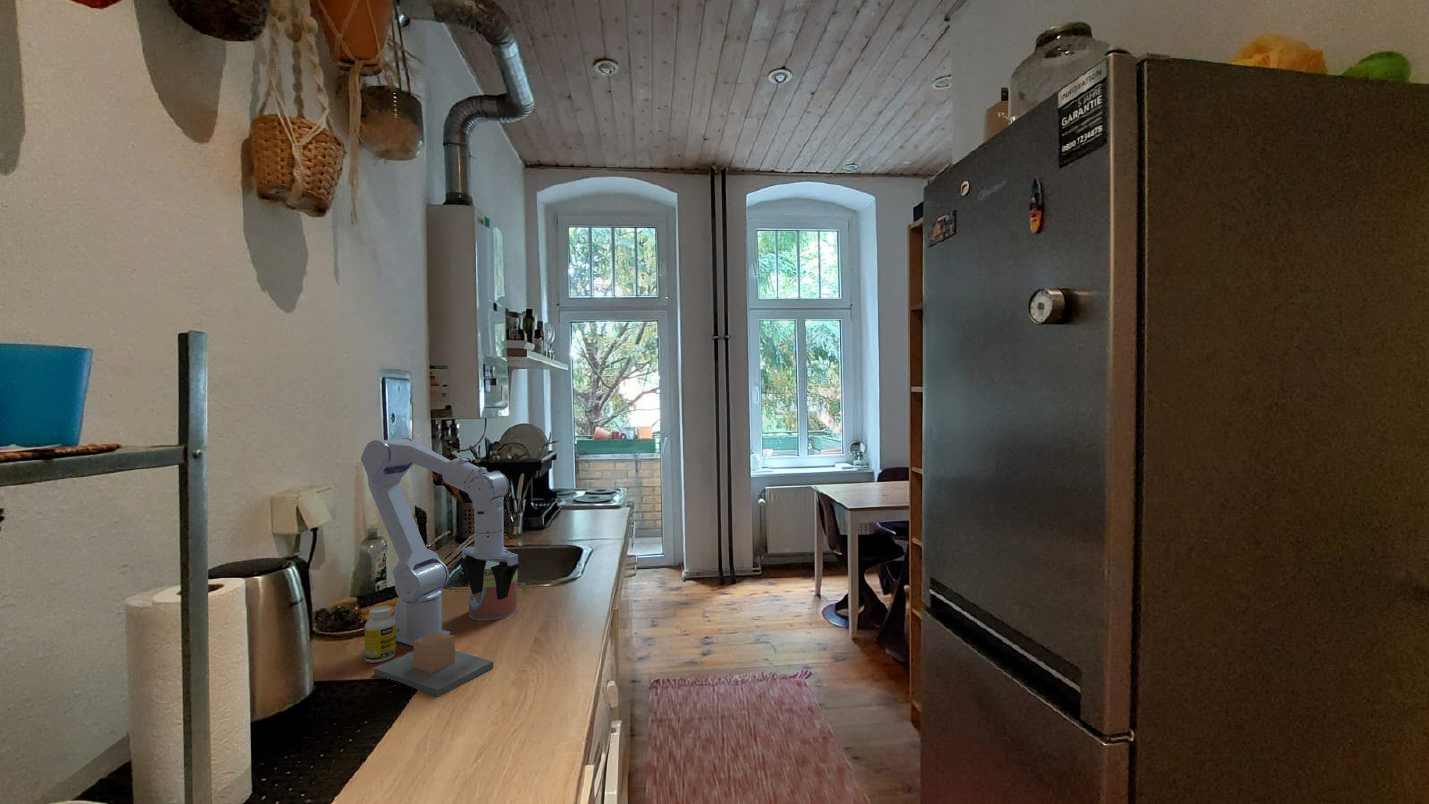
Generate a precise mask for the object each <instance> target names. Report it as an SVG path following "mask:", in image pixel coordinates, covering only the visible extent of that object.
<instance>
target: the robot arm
mask: <svg viewBox="0 0 1429 804" xmlns="http://www.w3.org/2000/svg"><path fill="white" fill-rule="evenodd" d="M360 461H361V463H362V466H363V467H364V470H365V473H366V475H367V482H368V483H367V484H368V488H369V491H370V493H371V495H372V498H373V500H374V502H375V505H376V507H377V510H378V512H379V514H380V517H381V520H382V522H383V524H384V526H385V528H386V531H387V534H388V536H389V538H390V541H391V543H392V545H393V548H394V550H395V553H396V555H397V558H398V561H397V563H396V565H395V566H394V568H393V570H392V575H393V578H394V588H395V592H396V594H397V596H398V598H399V599H398V600H397V601H396V603H395V606H394V611H393V612H394V614H393V617H394V618H395V619H396V642H398V643H402V644H405V645H408V646H412V647H414V641H415V640H417V639H420V638H422V637H425V636H427V635H430V634H432V633H435V632H437V631H438V632H442V633H445V634H449V635H452V634H451V633H452V632H451V631H449V630H446V629H443V628H442V627H443V625H442V621H443V620H442V614H443V613H442V593H443V592H444V587H445V586H446V585H447V584H448V581H449V579H450V572H449V568H448V567H447V565H446V564H445V563H444V562H443V561H442V560H441V559H440V557H439V554H438V553H437V552H435V551H433V550H431V549H429V548H427V547H426V545H425V542H424V540H423V538H422V535H421V534H420V530H419V528H418V526H417V523H416V521H415V519H414V516H413V514H412V511H411V510H410V507H409V505H408V502H407V500H406V498H405V495H404V493H403V490H402V488H401V486H400V482H401V480H402V478H403V477H404V476H405V475H406V474H407V472H408V471H409V470H410V469H411V468H412V466H414V465H416V466H419V467H422V468H424V469H426V470H429V471H432V472H435V473H436V474H439V475H441V476H442V480H443V483H445V484H447V485H449V486H452V487H454V488H456V489H458V490H460V491H462V492H464V493H467V494H468V497H469V499H470V500H471V502H472V509H473V513H474V514H473V515H474V518H473V519H474V527H473V528H474V533H473V534H474V535H473V536H474V537H473V538H474V546H467V547H464V548H462V549H461V558H462V559H464V560H462V561H460V562H459V566H460V567H461V568H462V570H463V572H464V573H465V575H466V578H467V581H468V585H469V584H470V588H471V591H472V594H476V593H479V592H482V590H483V579H484V570H485V566H486V562H487V561H492V562H498V563H499V565H496V566H493V567H491V570H492V572H493V575H494V578H495V582H496V593H497V598H498V599H499V600H501V599H504V598H506V597H508V593H509V588H510V585H511V581H512V579H513V576H514V574H515V572H516V570H517V571H518V568H519V567H520V562H519V554H517V553H514V552H511V551H509V550H508V548H507V547H505V545H504V544H505V542H504V540H505V538H504V537H505V535H504V528H505V526H504V525H505V524H504V520H505V519H504V518H505V517H504V513H505V512H504V497H505V496H506V495H507V493H508V491H509V488H510V483H509V479H508V478H507V476H506V475H505V474H504V473H502V472H501V471H500V470H494V471H493V470H492V471H490V472H489V471H488V470H487V467H484V466H480V467H479V466H477V465H475V464H473V463H471V462H470V461H469V458H466V457H460V458H454V459H452V460H451V459H448V458H447V457H445V456H443V455H441V454H440V453H437V452H436V451H434V450H432V449H430V448H428V447H426V446H424V445H423V444H422V443H421V441H418V440H415V439H412V438H410V437H402V438H395V439H393V438H392V439H384V440H383V439H381V440H380V439H376V440H374V439H373V440H371V441H369V442H368V443H367V444H366V446H365V447H364V449H363V452H362V455H361V456H360ZM415 567H416V568H415Z"/></svg>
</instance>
